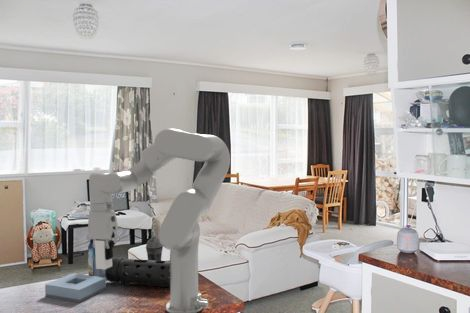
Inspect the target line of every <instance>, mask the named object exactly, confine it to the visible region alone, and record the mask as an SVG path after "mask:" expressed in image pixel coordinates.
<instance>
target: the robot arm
mask: <svg viewBox="0 0 470 313" xmlns="http://www.w3.org/2000/svg"><path fill="white" fill-rule="evenodd" d="M140 154H141V156H140V157H141V159H140V160H139V161H138V162H137V163H136V164H134V165H133V166H131V167H130V168H129V169H127V170H120V171H115V172H110V173H109V172H94V173H91V174H90V175H89V176H88V177H89V178H88V183H89V186H88V187H89V207H90V211H89V214H88V220H87V222H88V223H87V233H88V234H87V236H86V238H85V239H86V240H88V241H89V243H90V242H91V244H92V245H93V248H94V251H95V240H105V243H106V249H105V257H106V260H109V259H111V258H113V256H114V253H113V252H114V251H113V248H114V247H115V245H116V243H118V242H119V241H120V240H121V239H120V236H119V225H118V218H117V214H116V211H115V210H113V209H115V204H113V195H119V194H123V193H127V192H133V191H134V190H136V189H137V188H139V187H140V186H142V185H143V184H145V183H146V182H147V181H149V180H150V179H152V177H153V176H154V175H156V173H157V172H158V171H159V170H161V169H162V168H164V167H165V166H167V164H169V163H171V162H172V161H173V160H175V159H183V160H189V161H195V162H202V163H203V162H204V164H203V166H202V168H200V170H199V172H198V174H197V175H196V177H195V179H194V182H193V183H192V185H191V186H190V188H188V189H186V190H184V191H181V192H180V193H179V194H178V195H177V196H176V197H175V199H174V200H173V201H172V204H171V205H170V207H169V209H168V211H167V212H166V215H165V217H164V218H163V221H162V223H161V225H160V228H159V231H158V238H159V240H160V243H161V244H162V246H163V248H164V249H166V250H169V261H170V270H169V272H170V277H169V278H170V287H169V293H170V294H169V299H170V300H169V301H168V302H167V303H166V304H165V311H167V313H199V312H200V311H202V309H203V308H206V309H207V308H208V307H209V305H210V304H209V299H207V298H203V297H202V293H200V292H199V244H200V236H201V235H200V234H201V230H200V227H201V226H200V224H199V221H198V219H199V218H200V217H203V216H204V215H205V214H206V213H208V212H209V211H210V208H211V206H212V205H213V202H214V200H215V198H216V196H217V194H218V192H219V191H220V188H221V186H222V184H223V182H224V181H225V178H226V176H227V174H228V171H229V168H230V166H231V165H230V164H231V156H230V151H229V148H228V146H227V145H226V142H225V141H224V140H223V139H222V138H220V137H218V136H216V135H213V134H200V133H193V132H187V131H184V130H182V129H177V128H164V129H161V130H160V131H159V132H158V133H157V134H156V135H155V138H154V141H153V143H152V144H150V145H149V146H148V147H146V148H145V149H144V150H142V152H141V153H140ZM109 241H110V243H109Z"/></svg>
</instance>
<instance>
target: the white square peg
mask: <svg viewBox="0 0 470 313" xmlns="http://www.w3.org/2000/svg"><path fill="white" fill-rule="evenodd" d="M109 243H110V241H109ZM105 249H106V243H105V240H95V259H96V269H107V268H109V267H112V258H111V259H109V260H106V257H105Z"/></svg>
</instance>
